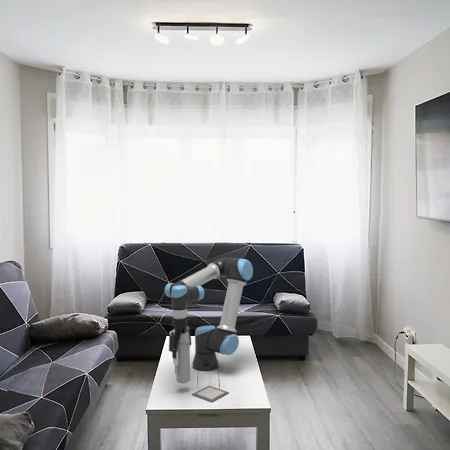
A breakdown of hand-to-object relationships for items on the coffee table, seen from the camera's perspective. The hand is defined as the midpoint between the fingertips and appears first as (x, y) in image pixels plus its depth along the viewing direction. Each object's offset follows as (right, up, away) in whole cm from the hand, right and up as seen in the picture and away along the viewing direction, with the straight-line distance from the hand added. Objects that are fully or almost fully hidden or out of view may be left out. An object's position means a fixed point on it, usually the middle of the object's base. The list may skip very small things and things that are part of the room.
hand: (180, 362), depth 226 cm
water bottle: (+1, -10, +1) cm, 10 cm away
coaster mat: (+15, -15, -3) cm, 21 cm away
